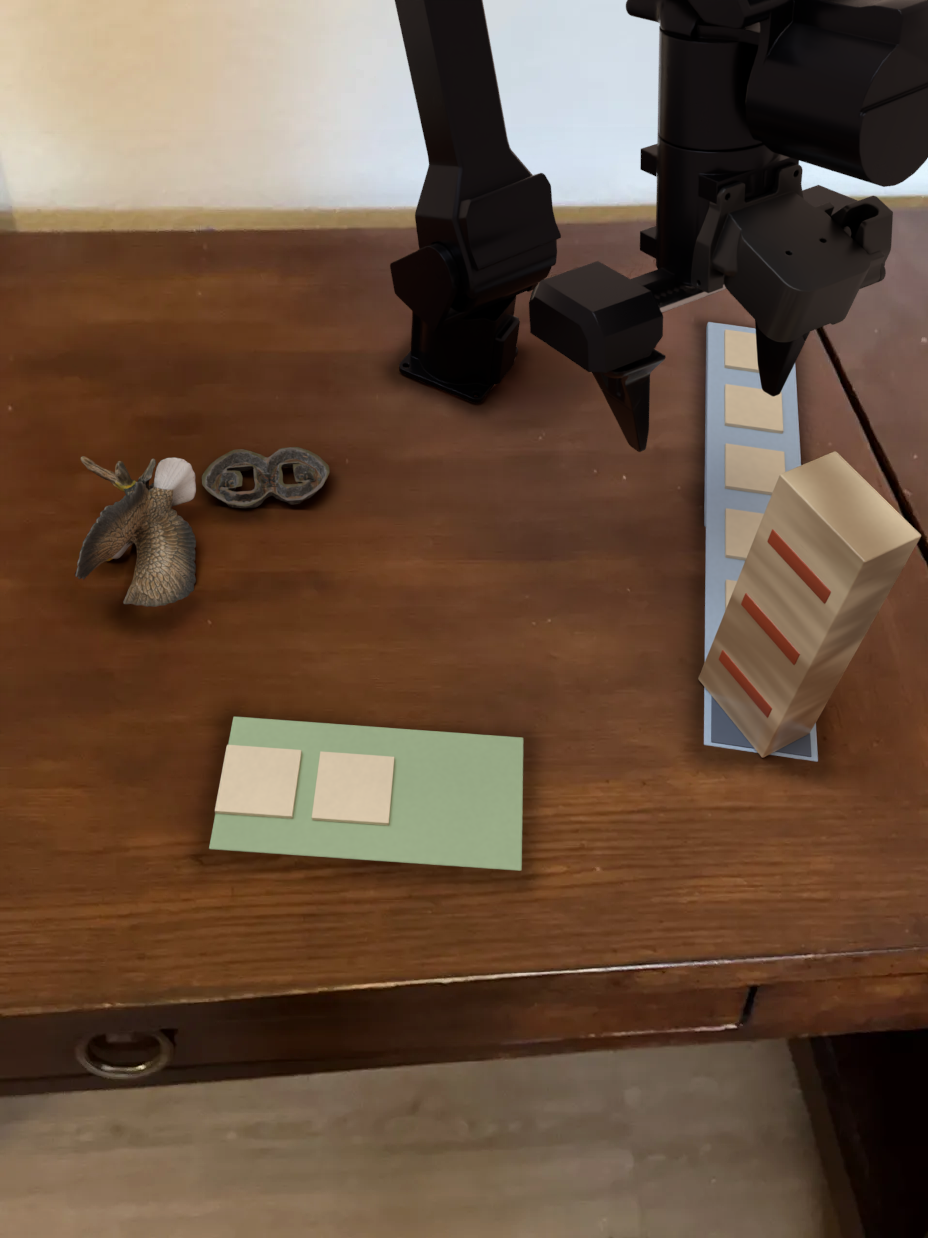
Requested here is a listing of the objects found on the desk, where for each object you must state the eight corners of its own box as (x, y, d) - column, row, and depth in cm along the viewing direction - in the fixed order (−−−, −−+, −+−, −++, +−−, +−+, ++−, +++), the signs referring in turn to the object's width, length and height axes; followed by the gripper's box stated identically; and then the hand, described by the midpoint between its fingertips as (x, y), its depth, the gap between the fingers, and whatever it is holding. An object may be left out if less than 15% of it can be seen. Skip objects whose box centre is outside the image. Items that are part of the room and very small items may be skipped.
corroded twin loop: (333, 509, 77) (333, 498, 76) (205, 519, 75) (203, 508, 74) (325, 452, 80) (325, 441, 79) (201, 462, 78) (199, 450, 77)
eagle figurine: (53, 505, 74) (48, 601, 67) (102, 415, 70) (102, 508, 64) (169, 547, 78) (175, 642, 71) (221, 464, 74) (232, 556, 68)
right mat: (815, 766, 68) (820, 758, 67) (701, 750, 68) (705, 741, 67) (791, 339, 90) (794, 330, 90) (706, 327, 90) (708, 317, 90)
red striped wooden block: (761, 759, 67) (864, 562, 54) (696, 679, 70) (778, 474, 56) (810, 733, 68) (923, 534, 55) (745, 655, 71) (836, 449, 58)
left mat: (209, 854, 62) (208, 846, 61) (234, 721, 67) (232, 713, 66) (520, 875, 63) (522, 868, 62) (522, 742, 67) (524, 734, 67)
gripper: (664, 239, 48) (657, 554, 58) (1002, 122, 54) (943, 425, 64) (514, 163, 55) (531, 453, 65) (825, 69, 62) (797, 346, 72)
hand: (705, 420), depth 66 cm, fingers open, 9 cm apart
